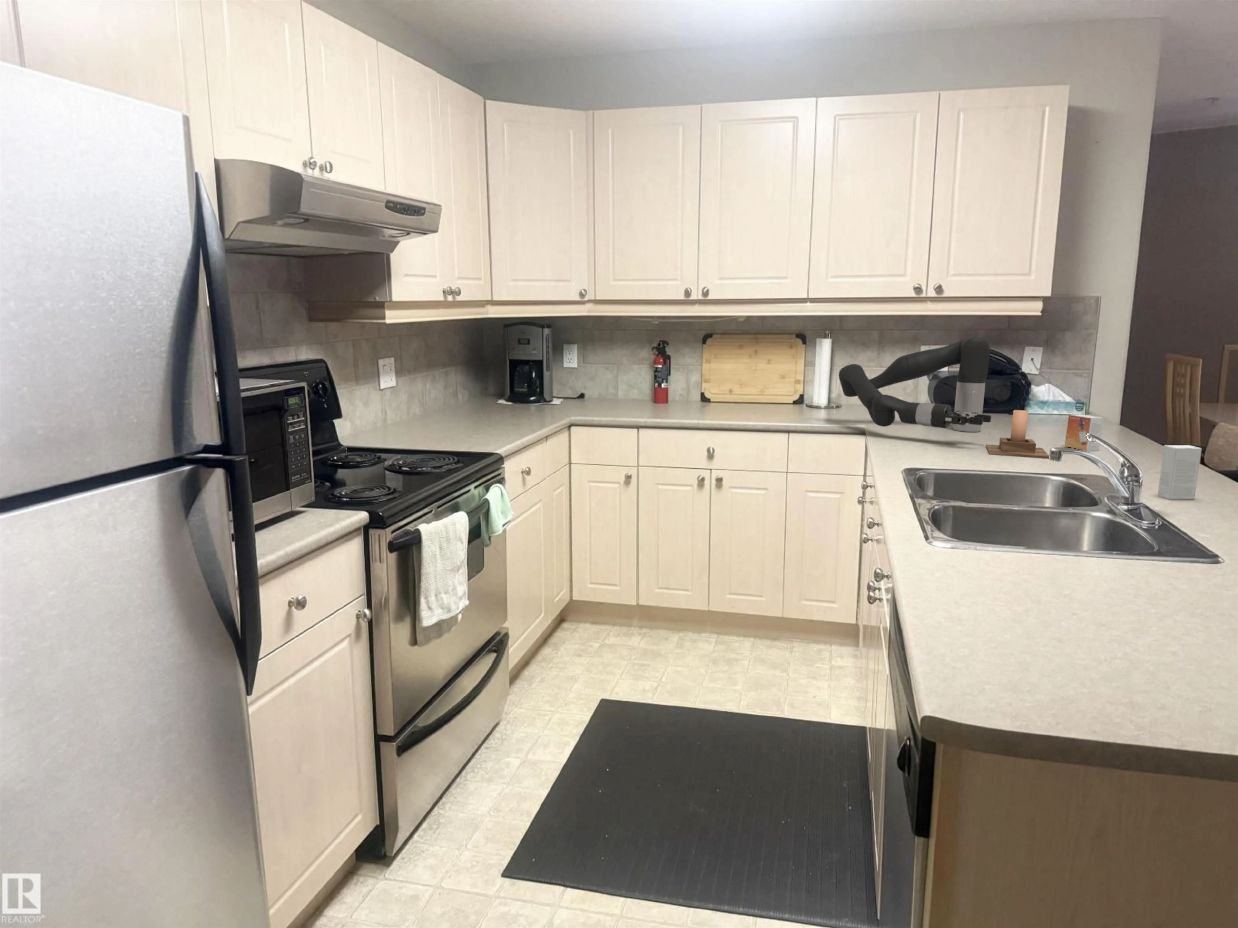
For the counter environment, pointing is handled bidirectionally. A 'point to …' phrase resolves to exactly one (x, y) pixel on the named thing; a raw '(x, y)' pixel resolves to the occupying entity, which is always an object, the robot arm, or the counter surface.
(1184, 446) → the skincare box
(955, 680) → the counter surface
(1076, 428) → the small box
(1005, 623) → the counter surface
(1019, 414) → the pin
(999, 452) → the socket block
